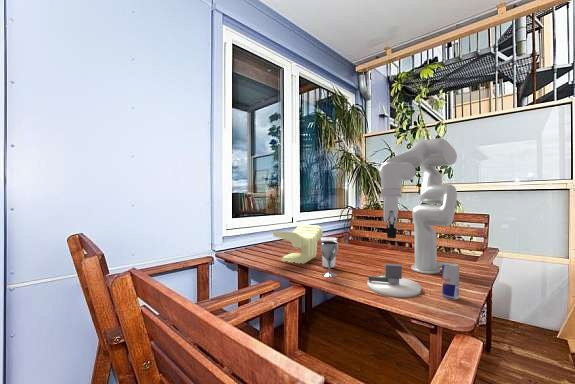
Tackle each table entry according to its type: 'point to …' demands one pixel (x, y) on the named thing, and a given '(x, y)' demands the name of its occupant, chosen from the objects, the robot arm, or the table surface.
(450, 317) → the table surface
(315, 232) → the slatted curved stool
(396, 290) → the tuner dial
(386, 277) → the tuning knob
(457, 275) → the energy drink
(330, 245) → the wine glass
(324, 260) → the cup
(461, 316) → the table surface
